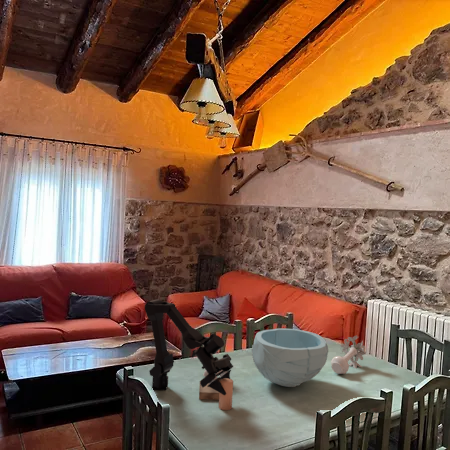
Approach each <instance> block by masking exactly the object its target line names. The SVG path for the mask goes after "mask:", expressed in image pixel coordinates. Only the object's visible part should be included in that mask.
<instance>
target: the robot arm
mask: <svg viewBox="0 0 450 450" xmlns="http://www.w3.org/2000/svg"><path fill="white" fill-rule="evenodd" d="M144 311H145V315H146V316H147V318H148V319H149V321H150V323H151V329H152V334H153V341H154V348H155V356H154V360H153V362H154V363H153V364H154V366H153V367H152V368H151V369H150V370H149V376H151V377H152V381H151V382H152V385H151V389H152V388H153V390H152V391H166V390H167V388H168V386H169V376H168V374H169V373H170V372H171V370H172V369H173V367H174V363H175V361H174V355H173V353H170V352H169V350H168V349H167V348H168V347H167V342H166V336H165V329H164V323H163V315H164V314H166V315H167V316H168V318H169V319H170V320H171V321H172V323H173V324H174V325H175V327H176V328H177V329H178V332H180V333H181V335H182V341H183V342H184V344H185V346H186V347H187V348H188V349H190V350H192V354H191V358H195V357H197V359H198V360H199V362H200V364H201V365H202V366H201V369H202V370H204V371H205V370H206V371H207V373H208V375H207V376H203V378H202V379H201V380H200V381H199V385H200V384H201V386H202V387H205V386H206V385H207V384H208V383H209V385H208V386H207V387H210V388H212V389H214V390H216V391H218V392H219V393H221V394H223V395H226V392H225V390H224V388H223V386H222V385H221V383H220V380H221V379H223V378H228V379H231V375H230V374H231V372H232V369H233V368H234V365H233V363H232V362H231V360H232V358H231V356H230V354H228V353H226V354H223V355H222V357H221V358H218V357H217V356H215V357H214V355H215V354H216V353H218V352H219V351H220V350H221V349H222V348H223V347H224V346H225V342H224V338H222V337H220V336H219V335H216V333H214V332H213V333H212V334H210V335H209V336H204V335H203V334H202V333H200V331H198V330H197V329H196V328H194V327H192V326H191V325H190V324H189V323H188V320H186V319H185V317H184V316H183V314H182V313H181V312H180V311H179V310H178V308H177V307H176V304H175V303H173V302H168V301H162V300H161V299H159V298H158V299H152V300H150V301H147V302H146V303H145V305H144ZM207 337H209V338H207ZM203 345H204V347H203ZM212 354H213V355H212Z"/></svg>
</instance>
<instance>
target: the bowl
mask: <svg viewBox="0 0 450 450" xmlns="http://www.w3.org/2000/svg"><path fill="white" fill-rule="evenodd" d="M251 347H252V348H251V356H252V361H253V363H254V365H255V367H256V369H257V370H258V372H259V373H260V375H262V376H263V377H264V378H265V379H266V380H268V381H269V382H271V383H273V384H276V385H279V386H281V387H286V388H296V387H297V386H300V385H301V384H302V383H305V382H308V381H311V380H312V379H313V378H315V377H316V376H317V375H319V374H320V372H321V370H322V369H323V367H325V366H326V363H327V360H328V356H329V355H328V354H329V346H328V344H327V342H326V340H325V338H323V336H321V335H319V334H318V333H315V332H311V331H308V330H302V329H296V328H285V327H284V328H274V329H263V330H261V331H258V332H257V333H256V334H255V337H254V340H253V344H252V345H251Z"/></svg>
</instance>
